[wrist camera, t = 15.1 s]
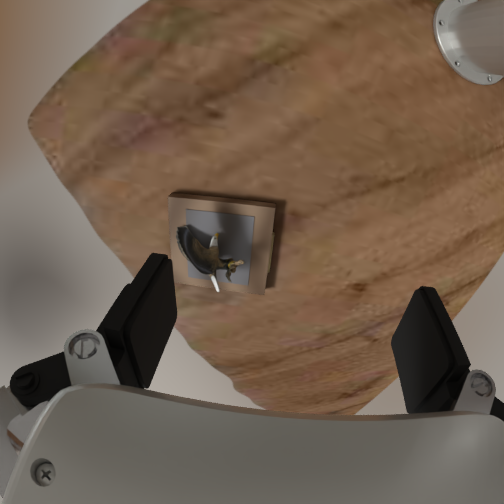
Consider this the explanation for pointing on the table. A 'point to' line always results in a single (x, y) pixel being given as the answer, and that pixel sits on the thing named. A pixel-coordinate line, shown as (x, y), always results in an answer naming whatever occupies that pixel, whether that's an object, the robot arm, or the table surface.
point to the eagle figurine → (205, 255)
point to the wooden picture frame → (224, 239)
